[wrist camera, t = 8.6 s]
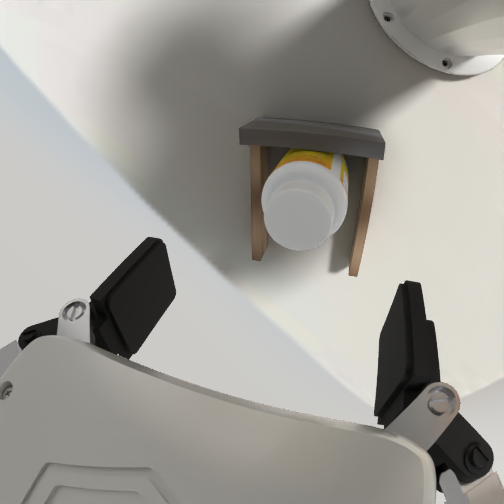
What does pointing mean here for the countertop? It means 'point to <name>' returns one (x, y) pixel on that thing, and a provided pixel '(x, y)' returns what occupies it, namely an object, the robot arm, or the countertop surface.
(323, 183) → the supplement bottle
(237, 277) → the countertop surface
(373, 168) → the guide track
